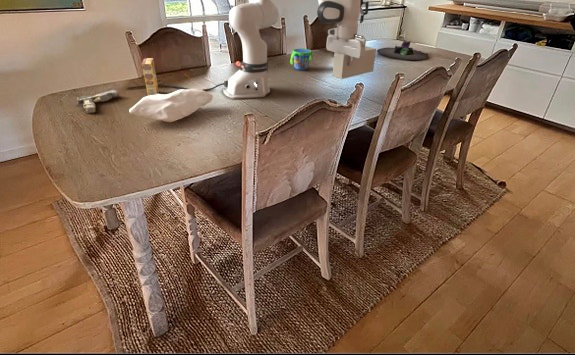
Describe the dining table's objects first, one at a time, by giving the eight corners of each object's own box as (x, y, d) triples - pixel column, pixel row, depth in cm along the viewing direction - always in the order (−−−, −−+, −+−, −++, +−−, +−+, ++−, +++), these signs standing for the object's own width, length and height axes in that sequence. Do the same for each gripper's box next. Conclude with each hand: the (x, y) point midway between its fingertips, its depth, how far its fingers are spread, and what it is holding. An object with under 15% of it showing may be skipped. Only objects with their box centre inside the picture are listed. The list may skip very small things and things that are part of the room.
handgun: (128, 97, 156) (111, 87, 164) (86, 107, 144) (70, 97, 152) (129, 103, 157) (113, 94, 165) (88, 114, 146) (72, 103, 154)
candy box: (157, 97, 164) (152, 63, 155) (147, 98, 163) (141, 63, 155) (158, 91, 171) (153, 57, 163) (149, 91, 170) (143, 58, 162)
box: (341, 79, 166) (343, 55, 161) (332, 76, 170) (334, 52, 164) (373, 71, 178) (376, 48, 173) (364, 68, 182) (367, 46, 177)
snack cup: (306, 64, 218) (307, 47, 212) (317, 69, 211) (318, 51, 205) (284, 68, 210) (285, 49, 205) (295, 72, 203) (295, 54, 198)
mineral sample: (439, 56, 245) (442, 42, 241) (405, 62, 228) (407, 47, 223) (399, 48, 270) (401, 35, 266) (365, 53, 253) (367, 39, 248)
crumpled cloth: (117, 110, 146) (113, 90, 140) (195, 92, 166) (194, 73, 160) (143, 139, 134) (140, 118, 128) (223, 116, 154) (224, 96, 148)
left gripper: (370, 35, 155) (366, 68, 163) (334, 28, 168) (331, 58, 175) (361, 37, 152) (357, 70, 159) (325, 29, 164) (322, 60, 172)
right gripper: (372, -12, 184) (367, 22, 193) (344, -14, 187) (340, 20, 196) (370, -11, 178) (365, 24, 187) (341, -13, 181) (337, 22, 190)
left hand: (343, 64), depth 167 cm, fingers closed on box, 6 cm apart
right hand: (352, 22), depth 191 cm, fingers open, 8 cm apart
